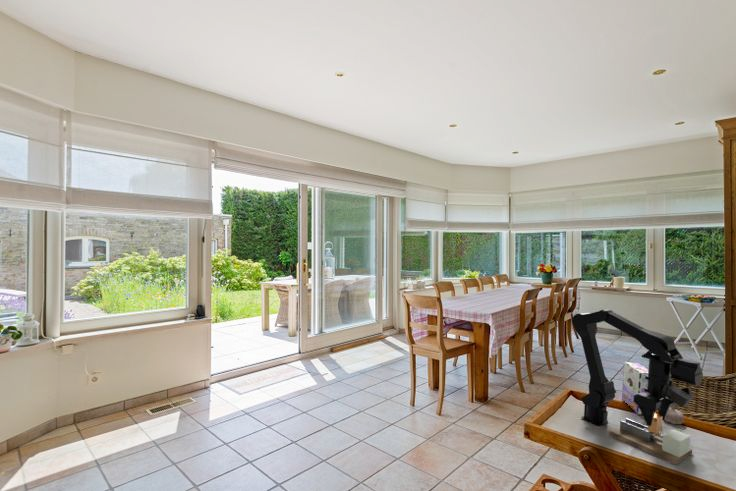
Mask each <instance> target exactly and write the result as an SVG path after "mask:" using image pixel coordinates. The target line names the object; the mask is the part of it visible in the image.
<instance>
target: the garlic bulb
mask: <svg viewBox="0 0 736 491" xmlns="http://www.w3.org/2000/svg"><path fill="white" fill-rule="evenodd" d="M664 421H665V422H668V423H671V424H673V425H682V424H683V423H684V421H685V416H684V414H683V413H682V412H681V411H680V410H678V409H676V403H675V402H674V403H672V404H671V406H670V408H669V410H668V412H667V415H666V417H665V419H664Z"/></svg>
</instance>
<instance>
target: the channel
mask: <svg viewBox="0 0 736 491" xmlns="http://www.w3.org/2000/svg"><path fill="white" fill-rule="evenodd" d="M619 426H620V430H622V431H624V432H626V433H629V434H631V435H633V436H636V437H638V438H640V439H643V440H645V441H647V442H652V441H654V440H653V439H651V432H648V431H646V430H643V428H646V429H648V425H644V424H643V423H640V422H637V421H634V420H632V419H629V418H628V417H625V421H623V420H620V421H619Z"/></svg>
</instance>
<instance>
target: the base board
mask: <svg viewBox="0 0 736 491" xmlns="http://www.w3.org/2000/svg"><path fill="white" fill-rule="evenodd" d="M608 436H611V437H613V438H616V439H617V440H620V441H622V442H624V443H626V444H629V445H631V446H633V447H635V448H638V449H639V450H642V451H644V452H645V453H646V452H647V453H648V454H651V455H652V456H655V457H657V458H659V459H661V460H664V461H667V462H669V463H670V464H673V465H678V464H679V463H681V461H683V460H685V459H687V458H689V457H690V456H691V455H692V454H693V448H691V447H689V452H687V453H686V454H684V455H683V456H681V457H677V456H675V455H672V454H670V453H668V452H665V451H663V450H662V443H660V442H658V441H656V440H654V441H652V442H647V441H645V440H643V439H640V438H638V437H636V436H633V435H631V434H629V433H626V432H624V431H622V430H620V425H617V426H615V427H614V428H612V429H609V430H608Z"/></svg>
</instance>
